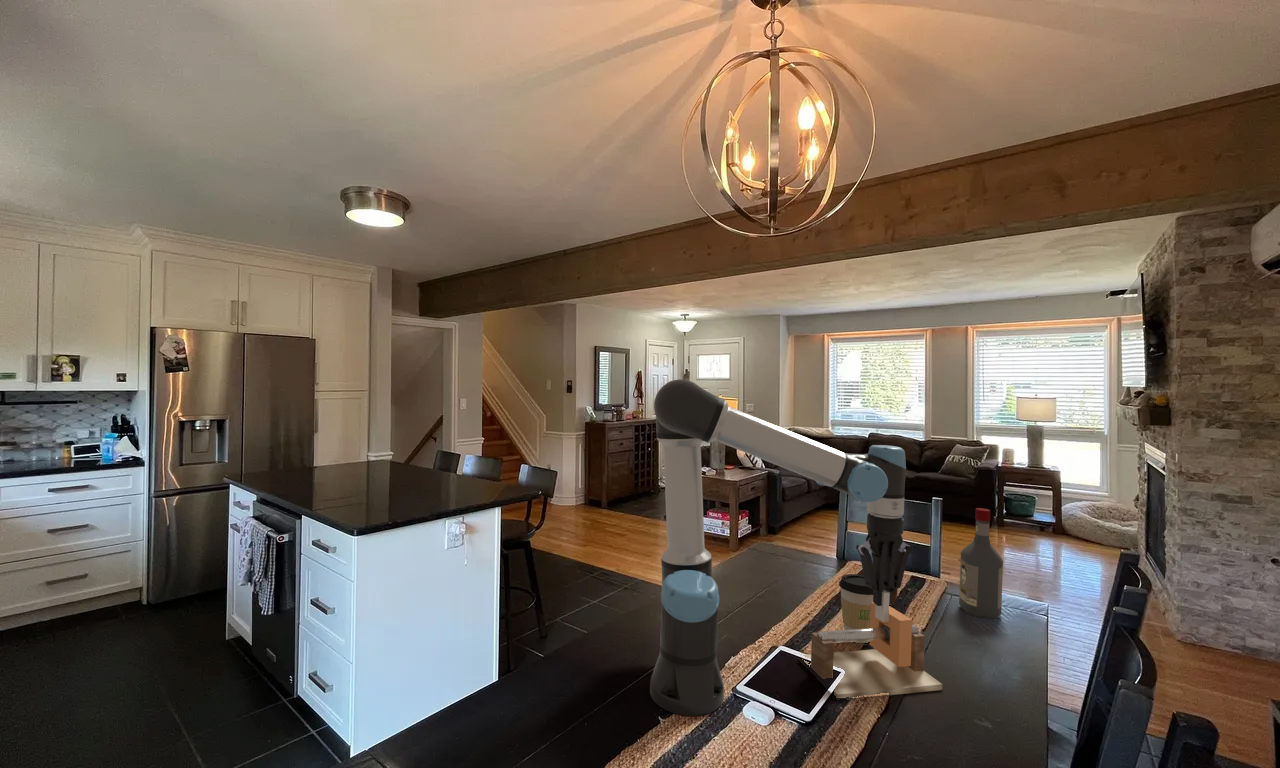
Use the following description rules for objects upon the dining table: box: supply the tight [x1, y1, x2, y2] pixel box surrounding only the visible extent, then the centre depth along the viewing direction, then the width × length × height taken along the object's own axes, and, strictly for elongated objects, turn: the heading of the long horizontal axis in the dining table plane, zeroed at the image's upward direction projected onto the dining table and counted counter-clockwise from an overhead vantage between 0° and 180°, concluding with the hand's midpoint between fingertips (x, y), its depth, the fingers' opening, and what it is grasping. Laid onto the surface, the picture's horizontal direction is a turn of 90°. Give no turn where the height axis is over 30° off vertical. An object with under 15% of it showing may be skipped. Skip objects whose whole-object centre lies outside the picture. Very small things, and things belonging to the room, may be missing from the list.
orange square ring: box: [868, 602, 913, 667], centre depth 121 cm, size 3×10×10 cm, turn 12°
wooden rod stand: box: [802, 631, 943, 698], centre depth 120 cm, size 25×16×9 cm, turn 102°
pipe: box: [816, 624, 920, 644], centre depth 120 cm, size 24×3×3 cm, turn 102°
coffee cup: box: [838, 573, 873, 643], centre depth 137 cm, size 10×10×15 cm
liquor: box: [958, 507, 1004, 620], centre depth 157 cm, size 9×9×30 cm
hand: (881, 619), depth 121 cm, fingers closed
